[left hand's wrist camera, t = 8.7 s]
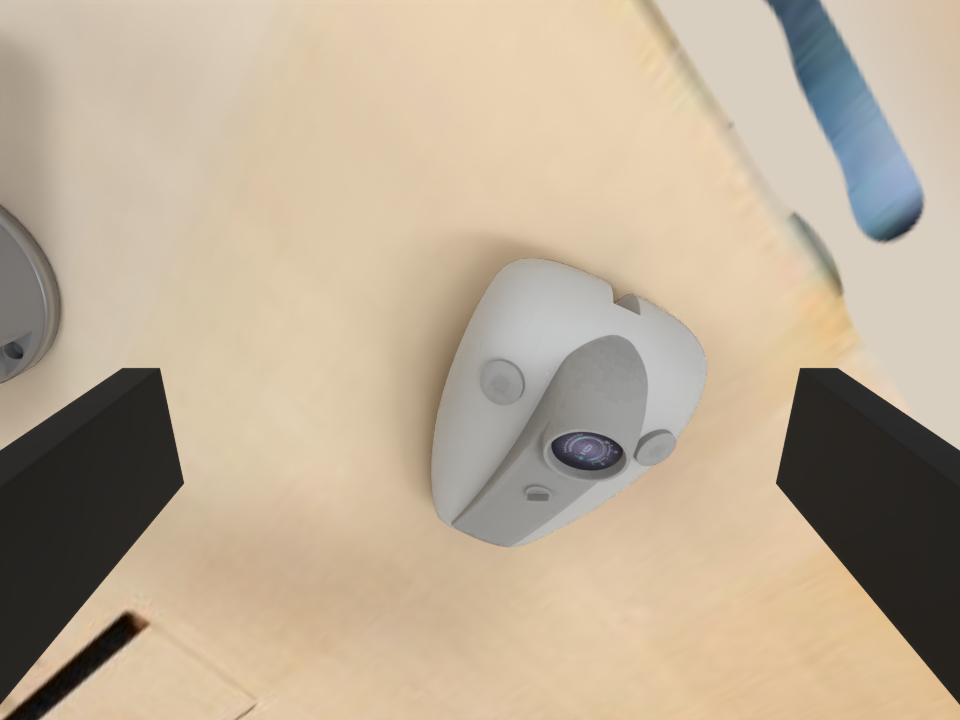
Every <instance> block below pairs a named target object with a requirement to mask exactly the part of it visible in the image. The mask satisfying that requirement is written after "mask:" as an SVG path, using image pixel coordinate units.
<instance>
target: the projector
mask: <svg viewBox="0 0 960 720" xmlns="http://www.w3.org/2000/svg"><path fill="white" fill-rule="evenodd" d="M706 374H707V362H706V356H705V353H704V350H703V348H702V346H701V344H700V342H699V341H698V339H697V337H696V336H695V335H694V334H693V333H692V331H691V330H690V329H689V328H688V327H687V326H685V325H684V324H683V323H682V322H681V321H679V320H678V319H677V318H676V317H674V316H673V315H671V314H669V313H668V312H666V311H664V310H663V309H661V308H659V307H658V306H656V305H654V304H652V303H650V302H648V301H646V300H644V299H642V298H640V297H638V296H636V295H634V294H628V295H626V296H624V297H623V298H621V299H620V300H619V301H618V302H617V303H616V304H614V303H613V292H612V288H611V286H610V284H609V283H608V282H606V281H604V280H602V279H600V278H598V277H595V276H593V275H591V274H588V273H586V272H584V271H581V270H579V269H576V268H573V267H571V266H568V265H565V264H562V263H558V262H555V261H551V260H546V259H539V258H525V259H519V260H515V261H513V262H511V263H509V264H507V265H506V266H505V267H503V268H502V269H501V270H500V272H499V273H498V274H497V275H496V276H495V277H494V279H493V280H492V282H491V283H490V285H489V286H488V288H487V290H486V291H485V293H484V295H483V296H482V298H481V300H480V302H479V304H478V306H477V308H476V310H475V312H474V314H473V316H472V318H471V320H470V322H469V324H468V326H467V329H466V331H465V333H464V335H463V338H462V340H461V343H460V345H459V347H458V350H457V352H456V355H455V358H454V360H453V363H452V366H451V368H450V371H449V374H448V377H447V381H446V384H445V387H444V390H443V394H442V398H441V402H440V405H439V409H438V413H437V419H436V424H435V430H434V438H433V447H432V462H431V483H432V495H433V502H434V506H435V510H436V513H437V515H438V517H439V518H440V519H441V520H442V521H443V522H444V523H446V524H447V525H449V526H450V527H452V528H454V529H456V530H458V531H460V532H463V533H465V534H468V535H470V536H472V537H474V538H477V539H479V540H482V541H484V542H487V543H491V544H494V545H498V546H503V547H518V546H522V545H525V544H527V543H530V542H533V541H535V540H537V539H539V538H542V537H544V536H546V535H548V534H550V533H552V532H554V531H556V530H558V529H560V528H562V527H564V526H565V525H567V524H569V523H571V522H573V521H575V520H577V519H578V518H580V517H582V516H584V515H585V514H587V513H589V512H590V511H592V510H594V509H595V508H597V507H598V506H600V505H602V504H603V503H605V502H606V501H608V500H609V499H611V498H612V497H614V496H615V495H616V494H618V493H619V492H621V491H622V490H624V489H625V488H626V487H628V486H629V485H630V484H631V483H633V482H634V481H635V480H636V479H638V478H639V477H640V476H641V475H642V474H644V473H645V472H646V471H647V470H648V469H649V468H650V467H651V466H652V465H656V464H658V463H660V462H661V461H663V460H665V459H666V458H667V457H668V456H669V455H670V454H671V453H672V451H673V450H674V448H675V446H676V439H677V438H678V437H679V435H680V434H681V433H682V431H683V430H684V428H685V427H686V425H687V424H688V422H689V420H690V419H691V417H692V415H693V414H694V412H695V410H696V407H697V405H698V403H699V401H700V398H701V396H702V392H703V389H704V386H705V381H706Z"/></svg>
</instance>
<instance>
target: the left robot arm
mask: <svg viewBox="0 0 960 720" xmlns="http://www.w3.org/2000/svg"><path fill="white" fill-rule="evenodd" d="M59 317H60V302H59V294H58V289H57V285H56V282H55V278H54V275H53V273H52V270H51V268H50V265H49V263H48V261H47V260H46V258H45V256H44V254H43V252H42V251H41V249H40V248H39V246H38V244H37V243H36V242H35V240H34V239H33V238H32V236H31V235H30V234H29V233H28V232H27V230H26V229H25V228H24V227H23V226H22V225H21V224H20V223H19V222H18V221H17V220H16V219H15V218H14V217H13V216H12V215H11V214H9V213H8V212H7V211H6V210H5V209H3V208H2V207H1V206H0V383H3V382H5V381H7V380H9V379H11V378H13V377H15V376H17V375H19V374H21V373H23V372H25V371H26V370H28V369H29V368H31V367H32V366H34V365H35V364H36V363H37V362H39V361H40V360H41V359H42V357H43V356H44V355H45V354H46V353H47V351H48V350H49V348H50V347H51V345H52V343H53V341H54V338H55V336H56V333H57V329H58V325H59ZM183 484H184V481H183V476H182V471H181V466H180V462H179V457H178V452H177V447H176V443H175V438H174V433H173V428H172V424H171V419H170V414H169V409H168V404H167V400H166V395H165V390H164V385H163V381H162V376H161V371H160V368H122V369H120V370H119V371H118V372H116V373H115V374H113V375H112V376H110V377H109V378H107V379H106V380H104V381H103V382H101V383H100V384H98V385H97V386H95V387H94V388H92V389H91V390H89V391H88V392H86V393H85V394H83V395H82V396H80V397H79V398H77V399H76V400H75V401H73V402H72V403H70V404H69V405H67V406H66V407H64V408H63V409H61V410H60V411H58V412H57V413H55V414H54V415H52V416H51V417H49V418H48V419H46V420H45V421H43V422H42V423H40V424H39V425H37V426H36V427H34V428H33V429H32V430H30V431H29V432H27V433H26V434H24V435H23V436H21V437H20V438H18V439H17V440H15V441H14V442H12V443H11V444H9V445H8V446H6V447H5V448H3V449H2V450H0V704H1V703H2V702H3V701H4V700H5V698H6V697H7V696H8V695H9V694H10V692H11V691H12V690H13V689H14V687H15V686H16V685H17V684H18V683H19V681H20V680H21V679H22V678H23V677H24V675H25V674H26V673H27V672H28V671H29V669H30V668H31V667H32V666H33V665H34V663H35V662H36V661H37V660H38V659H39V657H40V656H41V655H42V654H43V653H44V651H45V650H46V649H47V648H48V647H49V645H50V644H51V643H52V642H53V641H54V639H55V638H56V637H57V636H58V635H59V633H60V632H61V631H62V630H63V628H64V627H65V626H66V625H67V624H68V622H69V621H70V620H71V619H72V618H73V616H74V615H75V614H76V613H77V612H78V610H79V609H80V608H81V607H82V606H83V604H84V603H85V602H86V601H87V600H88V598H89V597H90V596H91V595H92V594H93V592H94V591H95V590H96V589H97V588H98V586H99V585H100V584H101V583H102V582H103V580H104V579H105V578H106V577H107V576H108V574H109V573H110V572H111V571H112V569H113V568H114V567H115V566H116V565H117V563H118V562H119V561H120V560H121V559H122V557H123V556H124V555H125V554H126V553H127V551H128V550H129V549H130V548H131V547H132V545H133V544H134V543H135V542H136V541H137V539H138V538H139V537H140V536H141V535H142V533H143V532H144V531H145V530H146V529H147V527H148V526H149V525H150V524H151V523H152V521H153V520H154V519H155V518H156V517H157V515H158V514H159V513H160V512H161V510H162V509H163V508H164V507H165V506H166V504H167V503H168V502H169V501H170V500H171V498H172V497H173V496H174V495H175V494H176V492H177V491H178V490H179V489H180V488H181V486H182V485H183ZM776 484H777V485H778V486H779V488H780V489H781V490H782V491H783V492H784V494H785V495H786V496H787V497H788V498H789V500H790V501H791V502H792V503H793V504H794V506H795V507H796V508H797V509H798V511H799V512H800V513H801V514H802V515H803V517H804V518H805V519H806V520H807V521H808V523H809V524H810V525H811V526H812V527H813V529H814V530H815V531H816V532H817V533H818V535H819V536H820V537H821V538H822V539H823V541H824V542H825V543H826V544H827V545H828V547H829V548H830V549H831V550H832V551H833V553H834V554H835V555H836V556H837V557H838V559H839V560H840V561H841V562H842V563H843V565H844V566H845V567H846V568H847V569H848V571H849V572H850V573H851V574H852V576H853V577H854V578H855V579H856V580H857V582H858V583H859V584H860V585H861V586H862V588H863V589H864V590H865V591H866V592H867V594H868V595H869V596H870V597H871V598H872V600H873V601H874V602H875V603H876V604H877V606H878V607H879V608H880V609H881V610H882V612H883V613H884V614H885V615H886V616H887V618H888V619H889V620H890V621H891V622H892V624H893V625H894V626H895V627H896V628H897V630H898V631H899V632H900V633H901V635H902V636H903V637H904V638H905V639H906V641H907V642H908V643H909V644H910V645H911V647H912V648H913V649H914V650H915V651H916V653H917V654H918V655H919V656H920V657H921V659H922V660H923V661H924V662H925V663H926V665H927V666H928V667H929V668H930V669H931V671H932V672H933V673H934V674H935V675H936V677H937V678H938V679H939V680H940V681H941V683H942V684H943V685H944V686H945V687H946V689H947V690H948V691H949V692H950V694H951V695H952V696H953V697H954V698H955V700H956V701H957V702H958V703H959V704H960V450H958V449H957V448H955V447H954V446H952V445H951V444H949V443H948V442H946V441H945V440H943V439H942V438H940V437H939V436H937V435H936V434H934V433H933V432H931V431H930V430H928V429H927V428H926V427H924V426H923V425H921V424H920V423H918V422H917V421H915V420H914V419H912V418H911V417H909V416H908V415H906V414H905V413H903V412H902V411H900V410H899V409H897V408H896V407H894V406H893V405H891V404H890V403H888V402H887V401H885V400H884V399H883V398H881V397H880V396H878V395H877V394H875V393H874V392H872V391H871V390H869V389H868V388H866V387H865V386H863V385H862V384H860V383H859V382H857V381H856V380H854V379H853V378H851V377H850V376H848V375H847V374H845V373H844V372H842V371H841V370H840V369H838V368H800V371H799V376H798V381H797V385H796V390H795V395H794V400H793V404H792V409H791V414H790V419H789V424H788V428H787V433H786V438H785V443H784V447H783V452H782V457H781V462H780V466H779V471H778V476H777V481H776Z"/></svg>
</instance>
